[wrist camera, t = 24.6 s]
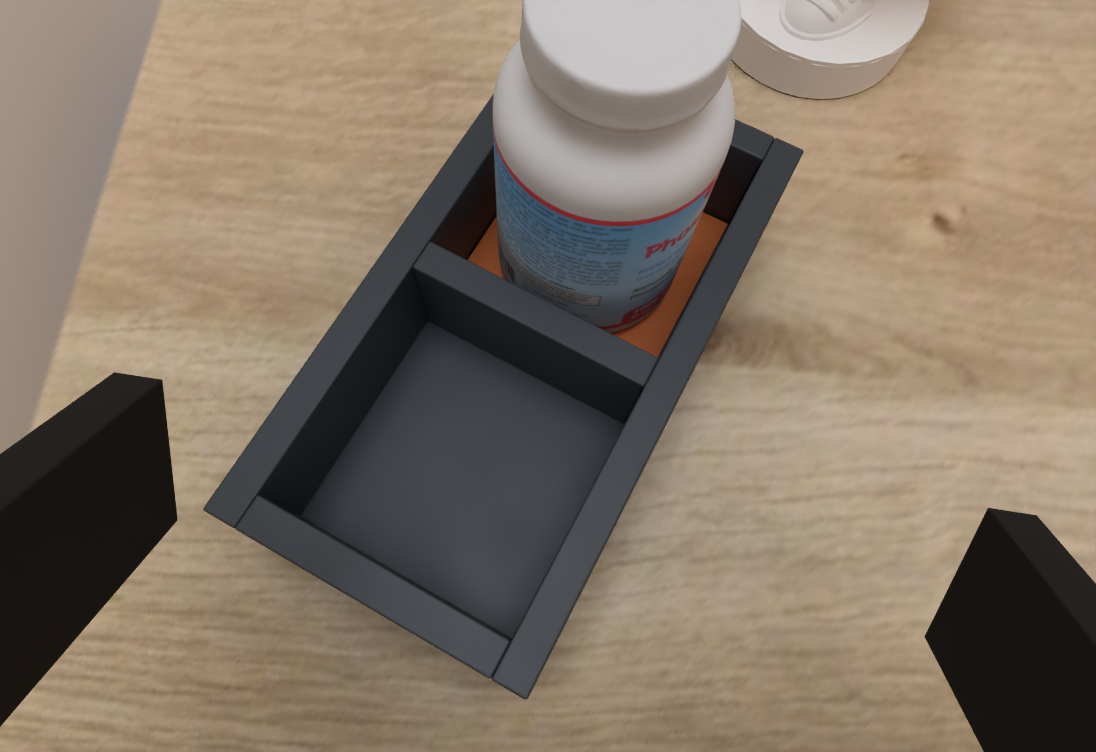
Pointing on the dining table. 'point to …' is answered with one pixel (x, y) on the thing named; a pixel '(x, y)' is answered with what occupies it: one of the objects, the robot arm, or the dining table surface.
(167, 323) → the dining table surface
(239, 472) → the holder
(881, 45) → the character figurine
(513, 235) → the pill bottle
